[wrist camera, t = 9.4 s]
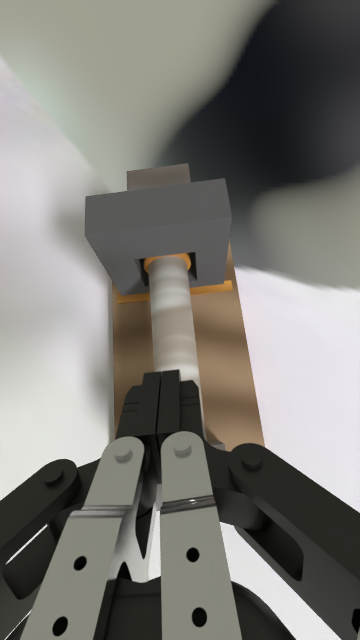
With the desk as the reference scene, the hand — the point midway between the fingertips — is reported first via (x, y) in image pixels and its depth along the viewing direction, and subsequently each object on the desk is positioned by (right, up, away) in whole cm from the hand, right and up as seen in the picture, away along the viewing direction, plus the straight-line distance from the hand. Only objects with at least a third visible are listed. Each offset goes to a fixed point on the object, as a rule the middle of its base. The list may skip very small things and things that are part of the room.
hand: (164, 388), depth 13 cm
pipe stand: (+1, +1, +16) cm, 16 cm away
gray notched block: (0, +7, +14) cm, 16 cm away
